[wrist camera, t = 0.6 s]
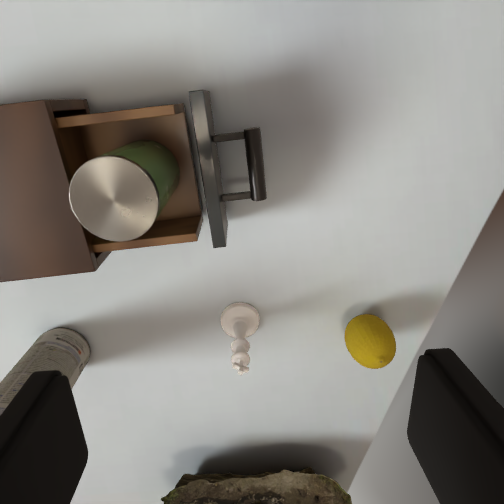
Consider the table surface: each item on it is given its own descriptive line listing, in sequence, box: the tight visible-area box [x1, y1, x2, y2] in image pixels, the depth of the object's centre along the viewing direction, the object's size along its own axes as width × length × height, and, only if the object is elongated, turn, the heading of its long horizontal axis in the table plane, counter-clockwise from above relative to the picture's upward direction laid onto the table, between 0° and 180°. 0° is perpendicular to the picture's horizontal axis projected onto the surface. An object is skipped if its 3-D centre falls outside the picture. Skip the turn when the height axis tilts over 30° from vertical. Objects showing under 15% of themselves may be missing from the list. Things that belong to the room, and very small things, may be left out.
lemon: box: [345, 314, 396, 369], centre depth 45 cm, size 6×6×8 cm
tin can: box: [69, 139, 180, 242], centre depth 33 cm, size 6×6×12 cm
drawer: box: [55, 90, 267, 253], centre depth 36 cm, size 18×14×7 cm
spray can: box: [0, 328, 90, 415], centre depth 39 cm, size 7×7×20 cm
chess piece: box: [220, 303, 260, 375], centre depth 43 cm, size 5×5×10 cm
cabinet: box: [0, 99, 111, 282], centre depth 36 cm, size 15×15×9 cm
